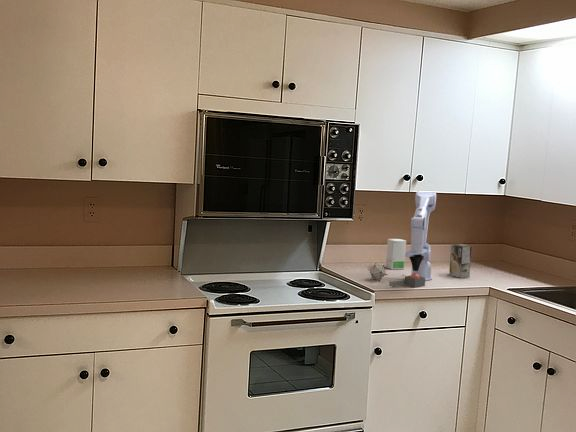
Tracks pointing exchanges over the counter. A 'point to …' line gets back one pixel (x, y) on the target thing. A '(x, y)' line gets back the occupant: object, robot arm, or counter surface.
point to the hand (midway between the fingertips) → (415, 270)
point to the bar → (396, 282)
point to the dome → (415, 276)
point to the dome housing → (414, 281)
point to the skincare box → (396, 254)
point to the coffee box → (460, 260)
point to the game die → (377, 272)
